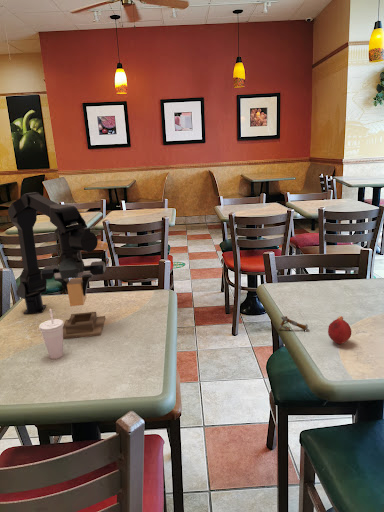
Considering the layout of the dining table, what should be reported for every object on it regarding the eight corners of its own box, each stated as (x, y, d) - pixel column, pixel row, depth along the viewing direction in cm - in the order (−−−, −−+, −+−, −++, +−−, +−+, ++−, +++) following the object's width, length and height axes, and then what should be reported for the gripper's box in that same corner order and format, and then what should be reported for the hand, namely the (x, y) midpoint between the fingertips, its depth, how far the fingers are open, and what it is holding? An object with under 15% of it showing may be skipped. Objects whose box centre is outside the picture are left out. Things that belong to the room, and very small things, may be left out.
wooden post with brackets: (275, 326, 117) (281, 313, 115) (301, 336, 116) (307, 323, 115) (275, 328, 115) (282, 315, 114) (301, 339, 114) (308, 326, 113)
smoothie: (61, 362, 106) (52, 314, 103) (39, 360, 108) (31, 313, 104) (72, 350, 112) (65, 304, 109) (52, 349, 114) (44, 304, 110)
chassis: (66, 322, 132) (64, 313, 131) (105, 318, 133) (104, 309, 132) (57, 339, 119) (55, 329, 119) (100, 335, 120) (99, 325, 120)
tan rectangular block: (73, 299, 126) (70, 278, 125) (86, 298, 127) (83, 277, 125) (70, 306, 121) (66, 284, 119) (83, 305, 121) (80, 283, 119)
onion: (339, 351, 102) (340, 323, 100) (323, 342, 107) (323, 315, 105) (355, 345, 104) (356, 317, 102) (338, 337, 109) (339, 310, 107)
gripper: (31, 257, 111) (40, 309, 115) (98, 251, 112) (104, 302, 116) (41, 248, 121) (49, 295, 125) (102, 243, 123) (108, 289, 127)
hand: (77, 296), depth 123 cm, fingers closed on tan rectangular block, 4 cm apart
